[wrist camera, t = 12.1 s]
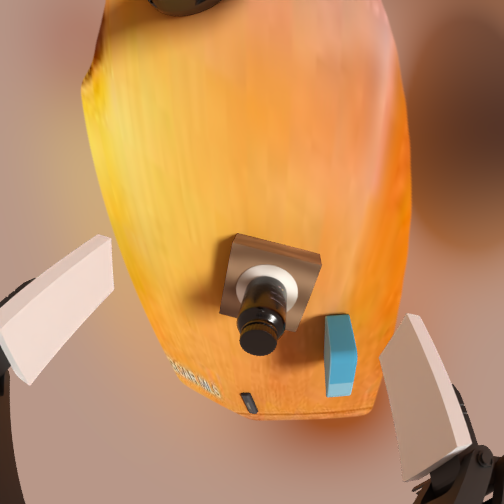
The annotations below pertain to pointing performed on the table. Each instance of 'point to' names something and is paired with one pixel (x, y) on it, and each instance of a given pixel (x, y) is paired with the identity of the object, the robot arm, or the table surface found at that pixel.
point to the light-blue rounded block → (339, 355)
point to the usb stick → (249, 402)
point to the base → (270, 274)
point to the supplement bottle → (262, 315)
